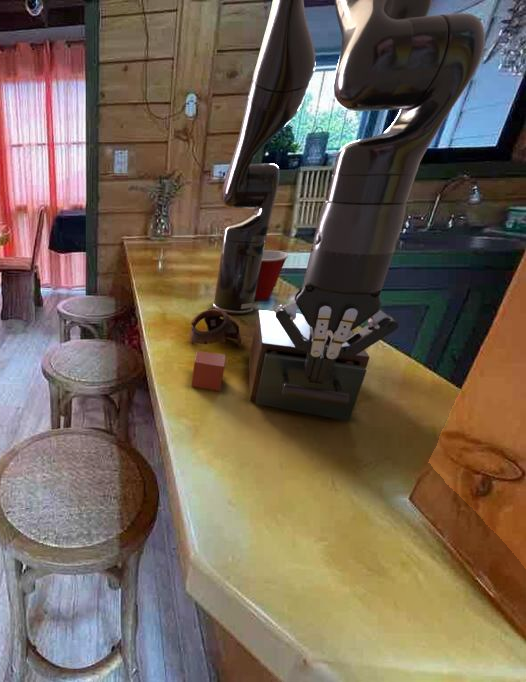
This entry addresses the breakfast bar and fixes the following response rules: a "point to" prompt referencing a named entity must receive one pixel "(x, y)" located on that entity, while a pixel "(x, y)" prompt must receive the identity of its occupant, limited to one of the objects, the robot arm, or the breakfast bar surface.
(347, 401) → the drawer
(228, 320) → the brown ring bracket
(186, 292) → the breakfast bar surface
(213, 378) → the block
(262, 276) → the plastic cup
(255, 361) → the cabinet
